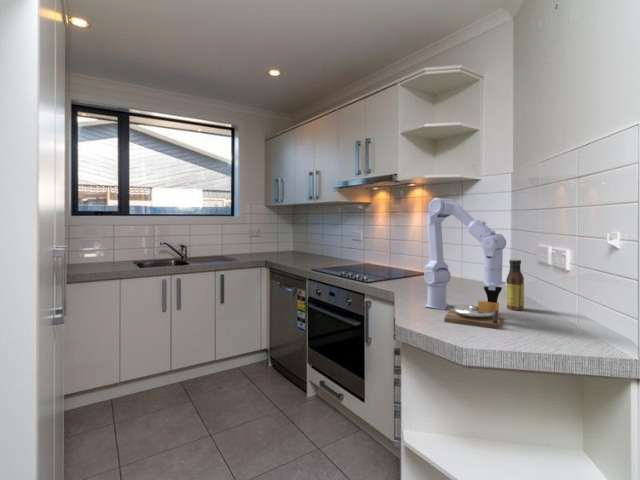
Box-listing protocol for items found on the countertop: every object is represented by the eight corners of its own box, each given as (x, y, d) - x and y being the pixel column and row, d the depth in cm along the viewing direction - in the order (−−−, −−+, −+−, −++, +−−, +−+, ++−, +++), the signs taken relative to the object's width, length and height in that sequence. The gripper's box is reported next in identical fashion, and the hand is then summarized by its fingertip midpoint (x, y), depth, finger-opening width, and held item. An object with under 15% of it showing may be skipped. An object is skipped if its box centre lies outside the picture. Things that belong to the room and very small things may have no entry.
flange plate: (468, 306, 134) (468, 295, 134) (502, 314, 123) (503, 302, 122) (446, 310, 127) (446, 299, 127) (480, 319, 116) (480, 307, 115)
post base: (451, 311, 136) (451, 297, 136) (500, 317, 128) (501, 302, 128) (444, 321, 122) (444, 306, 122) (499, 329, 114) (499, 312, 114)
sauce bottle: (517, 307, 144) (519, 258, 143) (527, 310, 138) (529, 260, 137) (502, 307, 144) (503, 258, 143) (511, 310, 137) (512, 260, 136)
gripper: (505, 272, 115) (505, 313, 115) (506, 267, 127) (505, 304, 128) (482, 270, 118) (481, 310, 119) (484, 266, 131) (484, 302, 131)
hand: (492, 307), depth 123 cm, fingers closed, pressing on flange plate
